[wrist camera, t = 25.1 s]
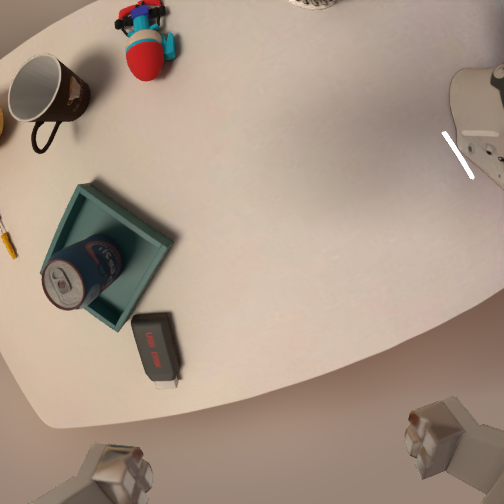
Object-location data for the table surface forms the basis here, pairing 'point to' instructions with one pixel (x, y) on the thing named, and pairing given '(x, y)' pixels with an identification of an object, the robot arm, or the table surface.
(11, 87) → the coffee mug
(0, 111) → the stress ball
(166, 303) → the table surface
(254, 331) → the table surface
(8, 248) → the purple orange rod tool
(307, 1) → the decorative candle
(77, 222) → the bin
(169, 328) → the usb drive
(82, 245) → the soda can
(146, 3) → the toy figure
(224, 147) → the table surface
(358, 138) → the table surface
